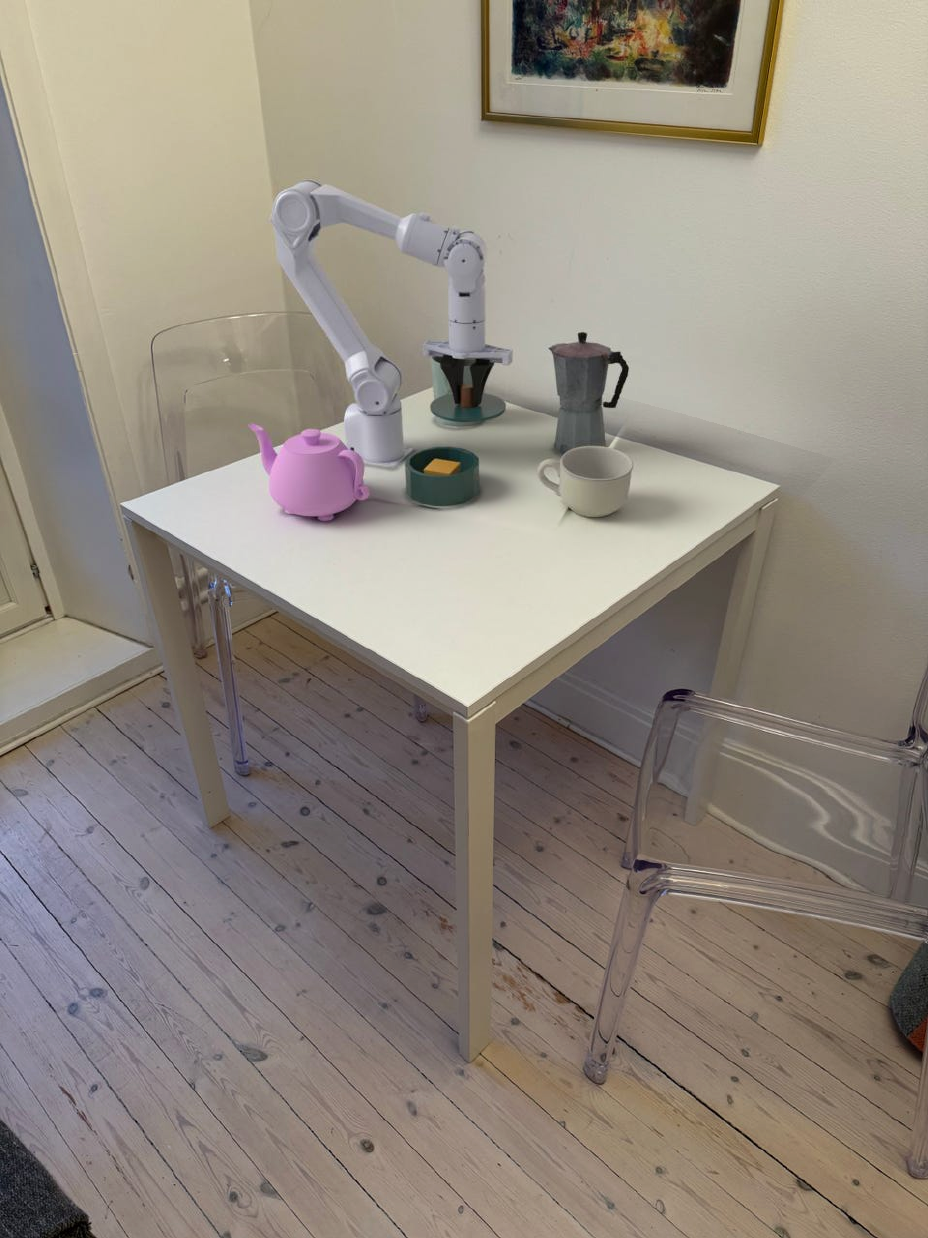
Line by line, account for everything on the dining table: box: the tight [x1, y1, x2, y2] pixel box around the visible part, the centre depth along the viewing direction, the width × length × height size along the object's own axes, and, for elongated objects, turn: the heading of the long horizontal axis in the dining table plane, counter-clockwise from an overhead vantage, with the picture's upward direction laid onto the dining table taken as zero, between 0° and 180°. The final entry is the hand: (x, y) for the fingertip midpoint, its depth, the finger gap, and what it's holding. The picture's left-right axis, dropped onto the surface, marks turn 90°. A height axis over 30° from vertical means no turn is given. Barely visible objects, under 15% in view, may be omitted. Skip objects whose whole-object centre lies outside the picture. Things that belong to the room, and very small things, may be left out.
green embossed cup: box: [430, 355, 485, 428], centre depth 162 cm, size 10×10×12 cm
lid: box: [429, 382, 507, 423], centre depth 144 cm, size 12×12×4 cm
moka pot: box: [548, 331, 630, 455], centre depth 148 cm, size 10×15×20 cm, turn 54°
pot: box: [404, 446, 480, 510], centre depth 139 cm, size 11×11×5 cm
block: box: [424, 459, 461, 475], centre depth 139 cm, size 4×4×4 cm
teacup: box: [537, 446, 634, 518], centre depth 133 cm, size 14×11×8 cm
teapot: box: [247, 422, 371, 522], centre depth 134 cm, size 20×14×12 cm
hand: (467, 403), depth 144 cm, fingers closed on lid, 2 cm apart
